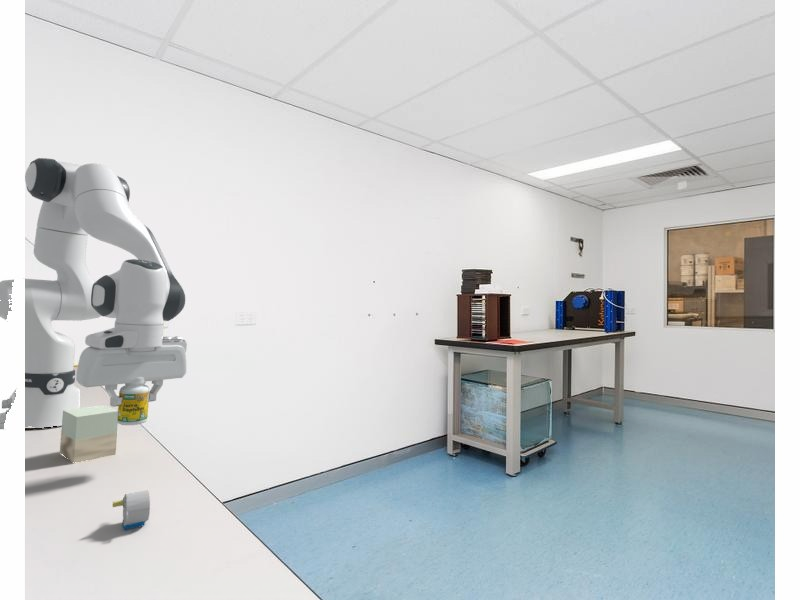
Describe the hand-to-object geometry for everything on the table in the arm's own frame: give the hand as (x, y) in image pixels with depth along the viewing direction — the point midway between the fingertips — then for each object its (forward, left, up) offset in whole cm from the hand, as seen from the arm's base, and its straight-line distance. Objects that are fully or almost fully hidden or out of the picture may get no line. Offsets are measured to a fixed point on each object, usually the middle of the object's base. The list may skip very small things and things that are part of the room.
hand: (133, 403), depth 90 cm
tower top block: (-16, -2, -9) cm, 18 cm away
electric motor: (+23, -10, -14) cm, 29 cm away
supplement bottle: (0, 0, -4) cm, 4 cm away
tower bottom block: (-16, -2, -14) cm, 21 cm away
